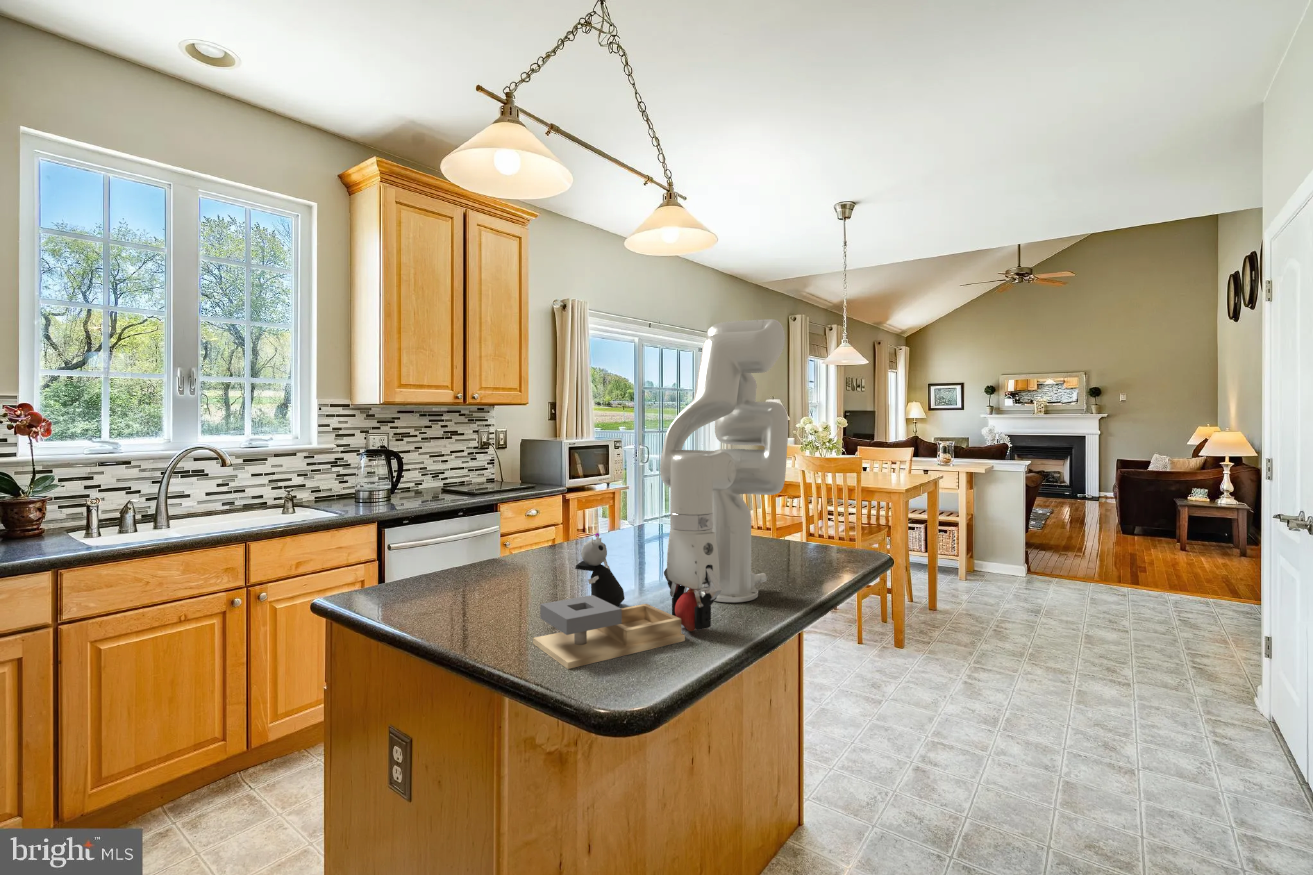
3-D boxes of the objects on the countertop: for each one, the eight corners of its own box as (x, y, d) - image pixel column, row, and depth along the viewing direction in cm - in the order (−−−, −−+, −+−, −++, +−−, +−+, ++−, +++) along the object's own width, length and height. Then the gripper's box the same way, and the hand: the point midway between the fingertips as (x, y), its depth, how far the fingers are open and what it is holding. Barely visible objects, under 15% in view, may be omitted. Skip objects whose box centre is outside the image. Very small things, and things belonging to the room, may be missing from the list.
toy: (619, 614, 117) (595, 538, 117) (586, 623, 118) (562, 548, 119) (633, 597, 128) (612, 528, 129) (603, 606, 129) (582, 537, 130)
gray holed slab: (592, 608, 108) (592, 595, 108) (621, 623, 100) (621, 608, 100) (540, 618, 103) (540, 603, 103) (566, 634, 95) (566, 619, 95)
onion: (669, 627, 112) (669, 584, 112) (697, 624, 115) (698, 581, 114) (683, 638, 107) (683, 592, 107) (712, 633, 109) (713, 588, 109)
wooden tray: (643, 620, 116) (643, 591, 116) (684, 640, 106) (684, 608, 106) (533, 643, 104) (533, 611, 104) (567, 669, 93) (567, 632, 93)
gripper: (739, 527, 105) (739, 632, 106) (679, 515, 120) (679, 607, 120) (705, 531, 101) (704, 641, 101) (647, 518, 115) (646, 614, 116)
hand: (690, 622), depth 111 cm, fingers closed on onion, 5 cm apart
